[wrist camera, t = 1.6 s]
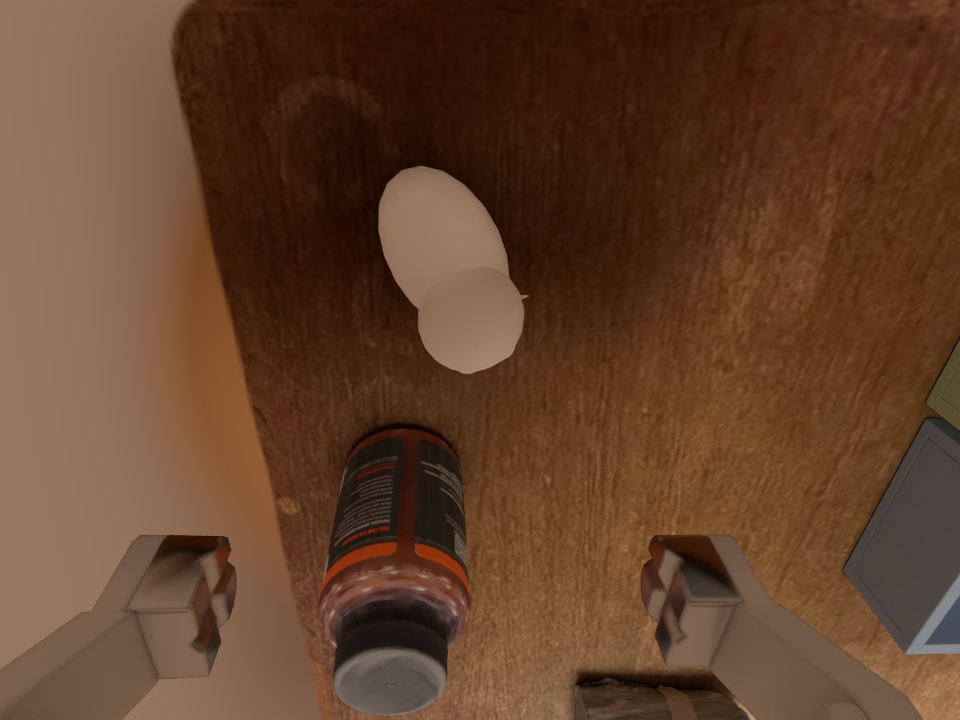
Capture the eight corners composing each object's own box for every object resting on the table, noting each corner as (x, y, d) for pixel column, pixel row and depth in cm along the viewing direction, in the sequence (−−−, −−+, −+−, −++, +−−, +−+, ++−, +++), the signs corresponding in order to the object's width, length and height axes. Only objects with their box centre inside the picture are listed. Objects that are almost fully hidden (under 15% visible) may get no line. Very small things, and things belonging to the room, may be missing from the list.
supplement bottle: (323, 481, 30) (268, 703, 20) (385, 402, 28) (357, 608, 18) (420, 527, 32) (412, 748, 22) (485, 457, 30) (508, 668, 20)
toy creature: (442, 343, 26) (443, 426, 21) (349, 181, 23) (321, 232, 17) (535, 302, 26) (562, 377, 20) (456, 127, 22) (462, 162, 16)
